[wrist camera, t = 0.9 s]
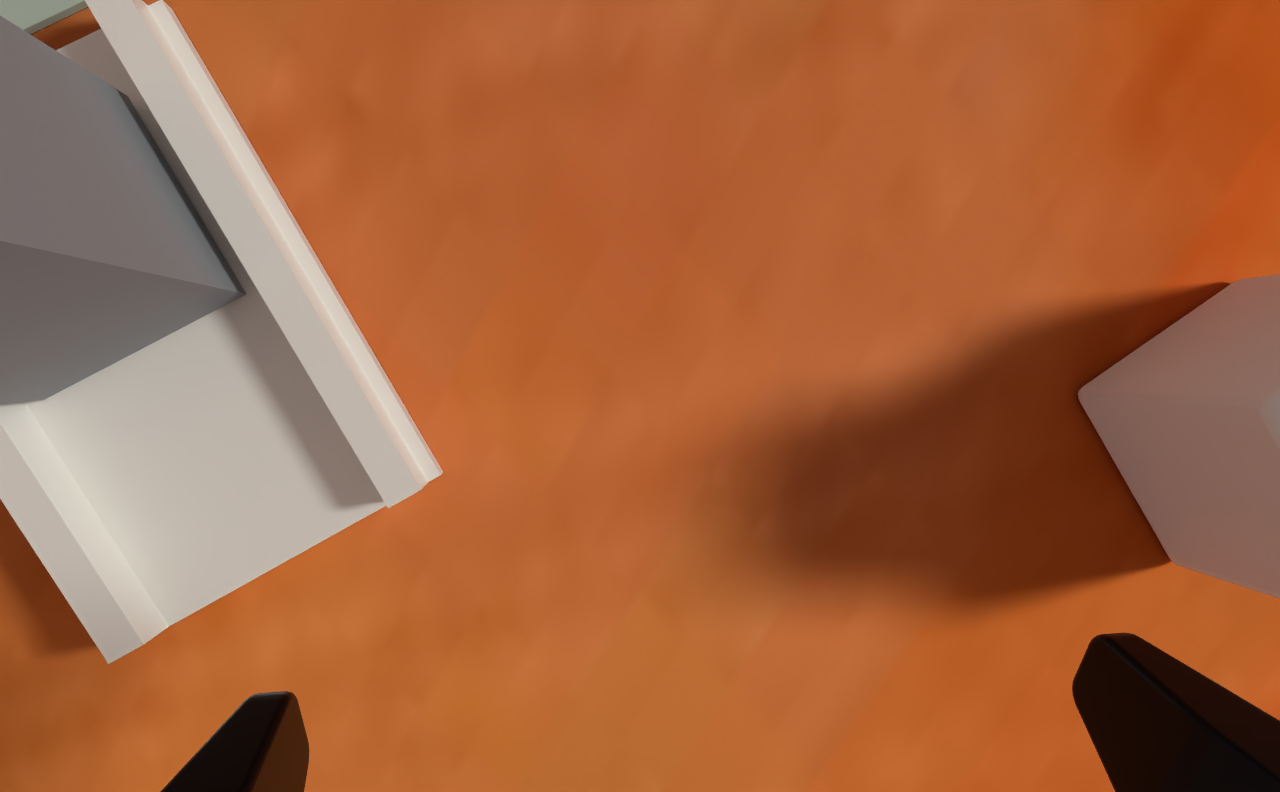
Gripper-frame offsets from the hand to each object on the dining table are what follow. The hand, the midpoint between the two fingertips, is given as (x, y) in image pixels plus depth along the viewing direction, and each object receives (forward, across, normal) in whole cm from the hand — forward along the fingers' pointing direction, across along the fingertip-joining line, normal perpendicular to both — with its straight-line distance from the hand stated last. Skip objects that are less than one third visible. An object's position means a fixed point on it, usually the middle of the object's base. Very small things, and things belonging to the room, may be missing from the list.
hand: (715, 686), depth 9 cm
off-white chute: (+16, +13, +3) cm, 20 cm away
